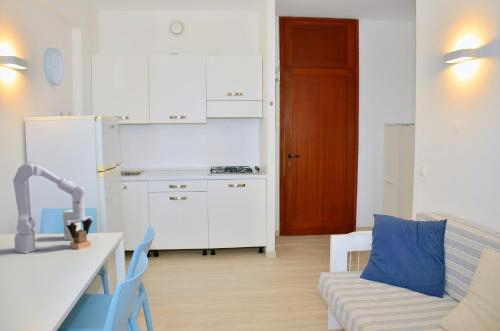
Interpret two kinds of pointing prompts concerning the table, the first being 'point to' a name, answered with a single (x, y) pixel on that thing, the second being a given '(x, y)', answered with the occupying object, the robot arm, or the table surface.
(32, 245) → the robot arm
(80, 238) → the walnut block
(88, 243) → the terracotta block
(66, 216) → the skincare box
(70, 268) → the table surface
